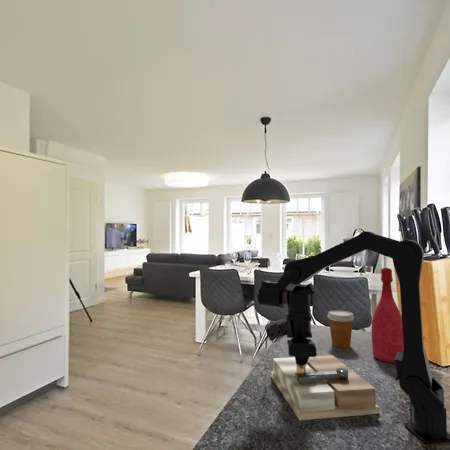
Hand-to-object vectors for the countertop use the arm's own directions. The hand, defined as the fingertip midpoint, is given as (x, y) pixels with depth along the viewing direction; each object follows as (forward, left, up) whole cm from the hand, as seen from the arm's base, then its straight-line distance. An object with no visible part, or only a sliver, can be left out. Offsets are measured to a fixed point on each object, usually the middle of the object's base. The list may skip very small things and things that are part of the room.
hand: (300, 372), depth 84 cm
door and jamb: (+2, -6, -6) cm, 9 cm away
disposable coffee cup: (+37, -30, -7) cm, 48 cm away
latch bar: (-3, -4, 0) cm, 5 cm away
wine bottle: (+22, -39, -7) cm, 45 cm away
